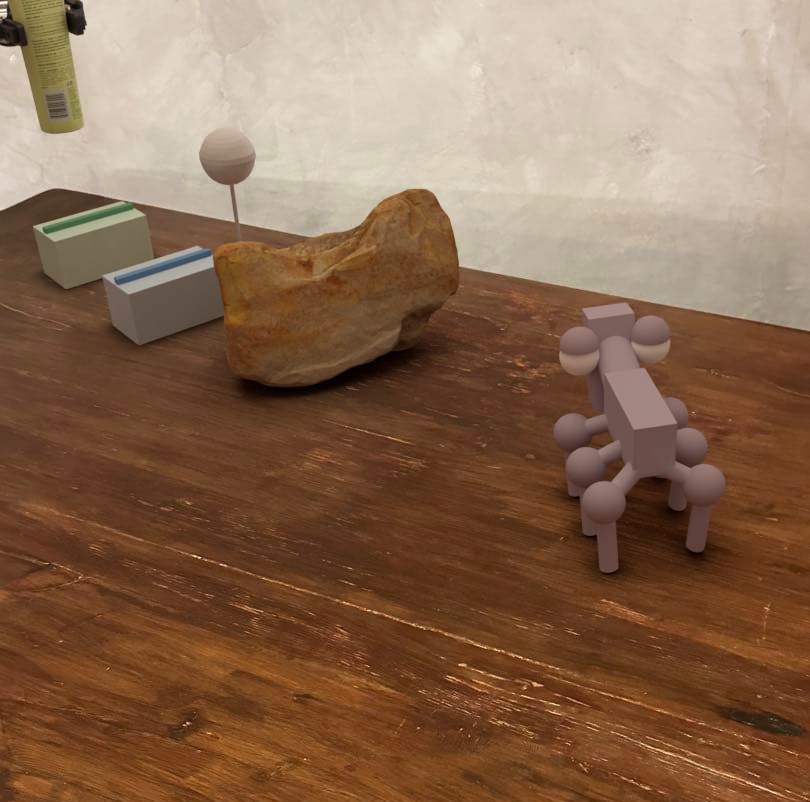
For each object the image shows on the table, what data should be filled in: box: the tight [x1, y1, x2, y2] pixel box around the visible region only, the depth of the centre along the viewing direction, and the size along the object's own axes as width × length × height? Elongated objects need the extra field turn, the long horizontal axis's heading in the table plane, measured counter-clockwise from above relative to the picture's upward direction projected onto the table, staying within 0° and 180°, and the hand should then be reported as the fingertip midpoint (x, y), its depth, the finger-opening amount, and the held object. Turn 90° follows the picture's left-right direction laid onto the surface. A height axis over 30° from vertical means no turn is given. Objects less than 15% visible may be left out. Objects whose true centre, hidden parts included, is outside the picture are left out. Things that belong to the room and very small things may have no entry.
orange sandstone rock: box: [212, 188, 461, 388], centre depth 107 cm, size 23×17×15 cm
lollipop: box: [198, 127, 257, 242], centre depth 124 cm, size 6×6×15 cm
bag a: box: [101, 245, 224, 346], centre depth 115 cm, size 11×6×6 cm, turn 127°
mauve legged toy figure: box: [552, 301, 727, 574], centre depth 85 cm, size 20×11×14 cm, turn 6°
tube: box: [8, 0, 85, 135], centre depth 124 cm, size 6×5×20 cm
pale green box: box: [32, 200, 155, 290], centre depth 127 cm, size 11×6×6 cm, turn 127°
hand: (51, 30), depth 122 cm, fingers closed on tube, 6 cm apart
